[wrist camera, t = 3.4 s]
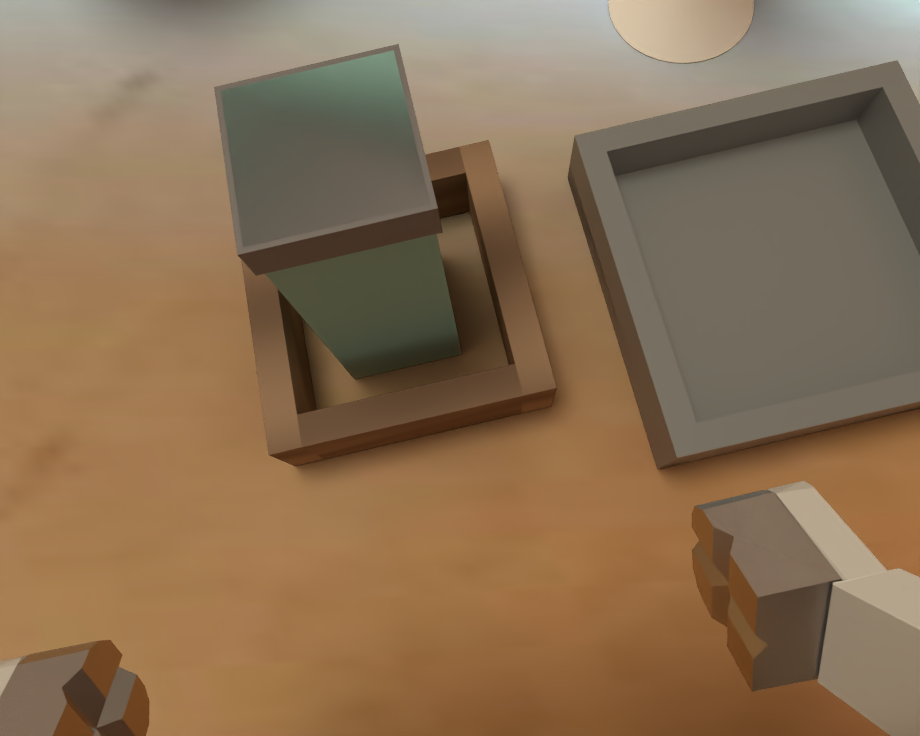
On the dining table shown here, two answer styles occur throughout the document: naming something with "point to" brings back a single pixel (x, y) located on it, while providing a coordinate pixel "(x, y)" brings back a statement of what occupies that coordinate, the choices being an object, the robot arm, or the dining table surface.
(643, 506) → the dining table surface
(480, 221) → the walnut collar
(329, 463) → the dining table surface
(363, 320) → the pin
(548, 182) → the dining table surface
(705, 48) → the champagne flute
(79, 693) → the robot arm
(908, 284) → the grey tray
